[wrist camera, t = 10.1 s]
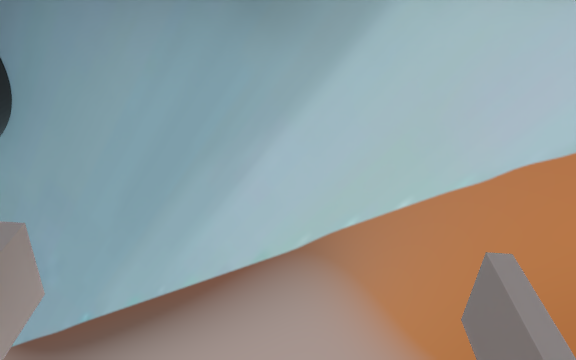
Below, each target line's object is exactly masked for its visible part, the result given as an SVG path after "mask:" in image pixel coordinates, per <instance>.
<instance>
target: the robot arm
mask: <svg viewBox="0 0 576 360" xmlns="http://www.w3.org/2000/svg"><path fill="white" fill-rule="evenodd" d="M10 112H11V91H10V86H9V81H8V78H7V75H6V72H5V69H4V67H3V65H2V62H1V60H0V136H1V134H2V133H3V131H4V130H5V128H6V126H7V123H8V120H9V117H10ZM44 295H45V293H44V290H43V286H42V283H41V279H40V275H39V272H38V268H37V265H36V261H35V258H34V254H33V250H32V247H31V243H30V240H29V236H28V233H27V229H26V225H25V223H16V222H0V360H3V359H4V357H5V355H6V354H7V352H8V351H9V349H10V348H11V346H12V345H13V343H14V341H15V340H16V338H17V337H18V335H19V334H20V332H21V331H22V329H23V327H24V326H25V324H26V323H27V321H28V320H29V318H30V317H31V315H32V313H33V312H34V310H35V309H36V307H37V306H38V304H39V303H40V301H41V299H42V298H43V296H44ZM461 320H462V323H463V325H464V328H465V330H466V333H467V336H468V338H469V341H470V344H471V346H472V349H473V351H474V354H475V356H476V359H477V360H576V358H575V357H574V355H573V353H572V352H571V350H570V348H569V347H568V345H567V343H566V342H565V340H564V338H563V337H562V335H561V333H560V332H559V330H558V329H557V327H556V325H555V324H554V322H553V320H552V319H551V317H550V315H549V314H548V312H547V310H546V309H545V307H544V305H543V304H542V302H541V300H540V299H539V297H538V296H537V294H536V292H535V291H534V289H533V287H532V286H531V284H530V283H529V281H528V279H527V277H526V276H525V274H524V272H523V271H522V269H521V268H520V266H519V264H518V263H517V261H516V259H515V258H514V256H513V255H512V254H502V253H487V252H486V254H485V257H484V259H483V262H482V265H481V267H480V270H479V273H478V276H477V278H476V281H475V284H474V286H473V289H472V292H471V294H470V297H469V300H468V303H467V305H466V308H465V311H464V313H463V316H462V319H461Z"/></svg>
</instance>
